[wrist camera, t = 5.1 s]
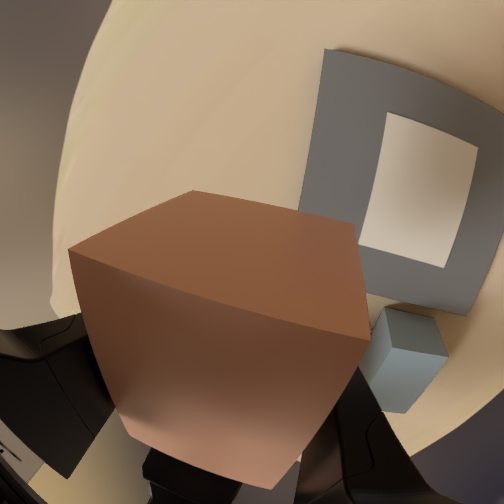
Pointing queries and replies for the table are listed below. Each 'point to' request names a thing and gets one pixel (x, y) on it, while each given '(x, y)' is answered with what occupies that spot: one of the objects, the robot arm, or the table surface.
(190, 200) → the brick
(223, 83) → the table surface
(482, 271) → the baseplate
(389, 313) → the brick
